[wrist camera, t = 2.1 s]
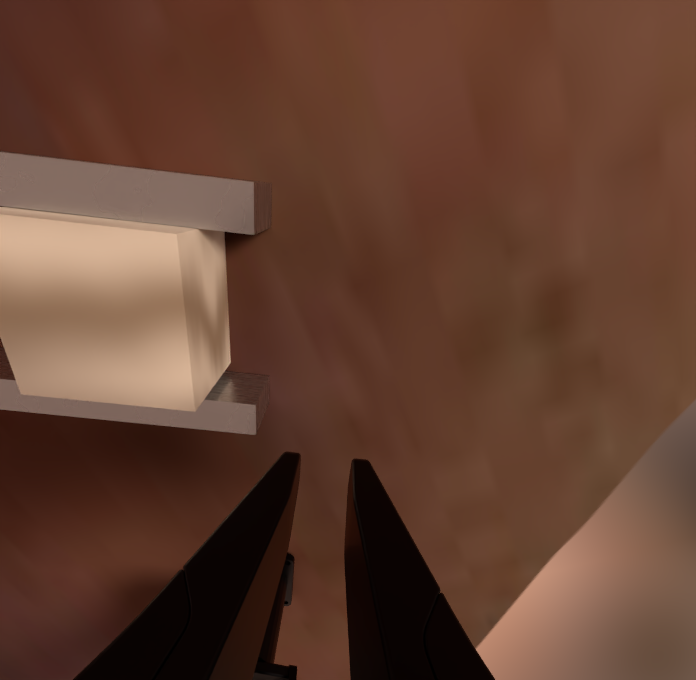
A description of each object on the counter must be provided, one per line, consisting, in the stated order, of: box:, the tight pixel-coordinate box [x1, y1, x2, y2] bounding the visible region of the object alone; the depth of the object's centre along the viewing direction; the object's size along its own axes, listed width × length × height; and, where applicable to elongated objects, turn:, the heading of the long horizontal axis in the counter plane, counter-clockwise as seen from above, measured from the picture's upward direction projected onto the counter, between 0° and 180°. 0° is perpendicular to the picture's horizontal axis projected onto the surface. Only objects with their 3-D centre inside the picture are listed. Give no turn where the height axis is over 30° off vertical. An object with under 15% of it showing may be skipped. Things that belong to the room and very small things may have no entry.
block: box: [0, 207, 231, 412], centre depth 16 cm, size 8×8×5 cm
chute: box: [0, 151, 271, 435], centre depth 17 cm, size 13×18×3 cm
